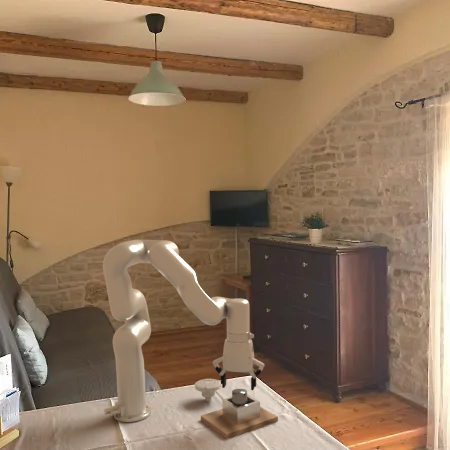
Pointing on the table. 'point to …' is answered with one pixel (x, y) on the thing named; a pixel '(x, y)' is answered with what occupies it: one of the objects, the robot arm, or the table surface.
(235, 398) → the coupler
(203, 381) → the showerhead
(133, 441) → the table surface
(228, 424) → the board
